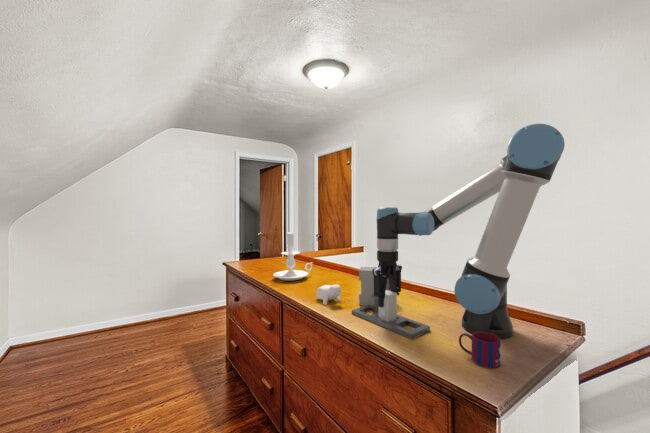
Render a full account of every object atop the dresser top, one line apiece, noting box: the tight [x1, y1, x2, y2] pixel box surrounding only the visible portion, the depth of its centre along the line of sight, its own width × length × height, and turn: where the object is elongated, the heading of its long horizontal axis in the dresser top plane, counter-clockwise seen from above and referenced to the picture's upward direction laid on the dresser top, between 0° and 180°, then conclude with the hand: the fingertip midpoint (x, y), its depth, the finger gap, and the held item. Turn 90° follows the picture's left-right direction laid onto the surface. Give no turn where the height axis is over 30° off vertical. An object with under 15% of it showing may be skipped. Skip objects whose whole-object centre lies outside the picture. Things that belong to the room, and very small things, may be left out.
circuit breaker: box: [358, 266, 390, 307], centre depth 127 cm, size 8×14×15 cm, turn 78°
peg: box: [379, 290, 398, 322], centre depth 106 cm, size 5×5×10 cm
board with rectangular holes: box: [351, 305, 431, 340], centre depth 106 cm, size 28×10×2 cm, turn 37°
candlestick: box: [273, 231, 314, 282], centre depth 172 cm, size 21×25×28 cm
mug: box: [458, 332, 502, 369], centre depth 79 cm, size 7×10×7 cm
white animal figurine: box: [315, 284, 342, 306], centre depth 129 cm, size 9×8×15 cm
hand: (387, 313), depth 106 cm, fingers closed on peg, 5 cm apart
